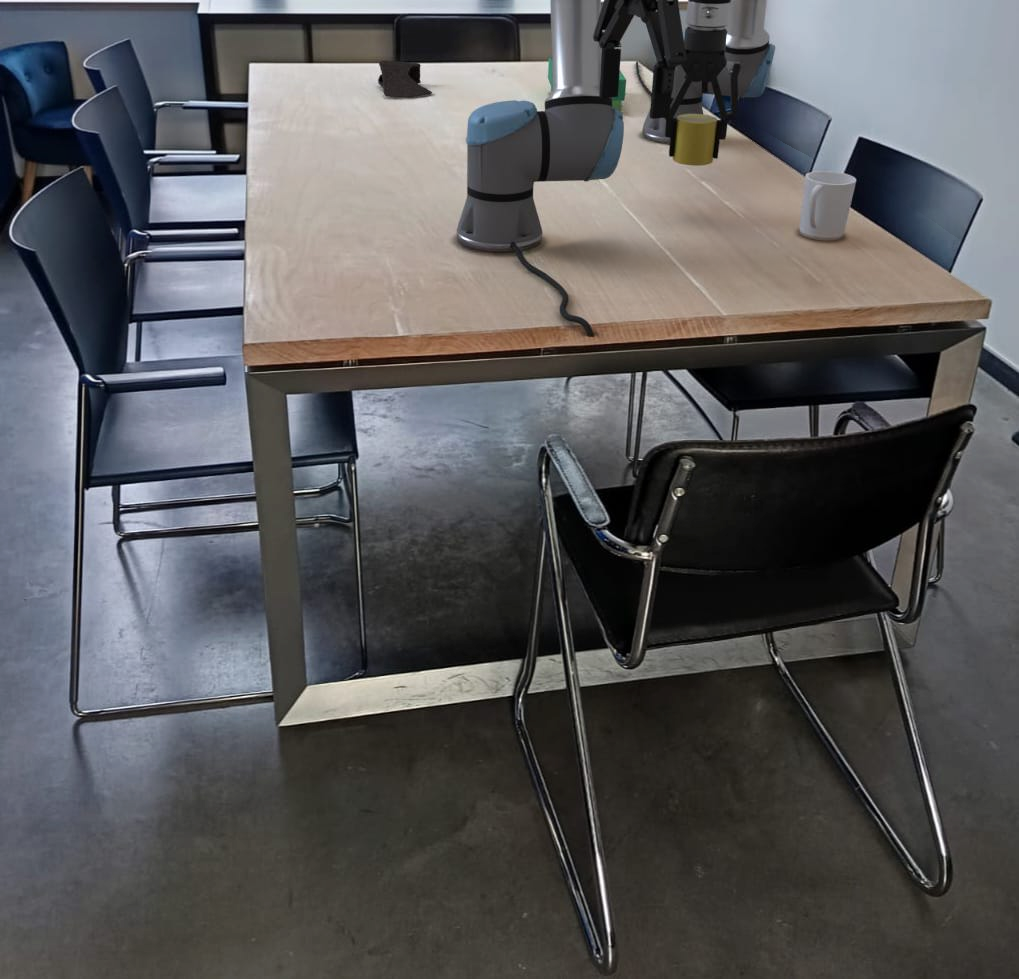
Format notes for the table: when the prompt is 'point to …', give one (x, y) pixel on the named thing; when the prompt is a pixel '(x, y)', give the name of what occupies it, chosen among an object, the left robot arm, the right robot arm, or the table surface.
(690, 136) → the canister
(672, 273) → the table surface
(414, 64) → the axe head
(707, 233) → the table surface
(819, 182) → the mug
